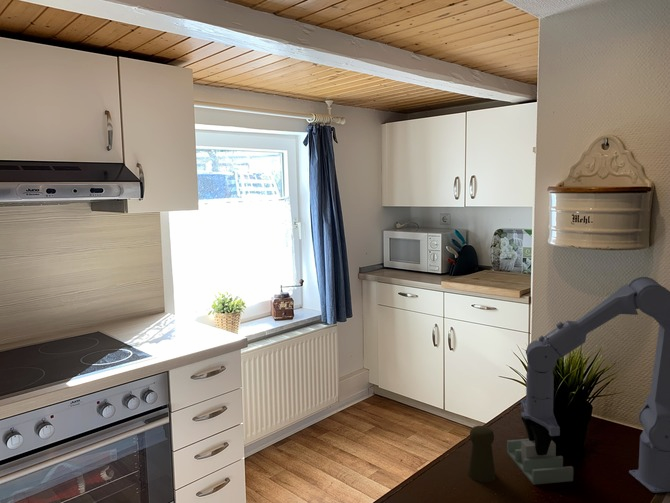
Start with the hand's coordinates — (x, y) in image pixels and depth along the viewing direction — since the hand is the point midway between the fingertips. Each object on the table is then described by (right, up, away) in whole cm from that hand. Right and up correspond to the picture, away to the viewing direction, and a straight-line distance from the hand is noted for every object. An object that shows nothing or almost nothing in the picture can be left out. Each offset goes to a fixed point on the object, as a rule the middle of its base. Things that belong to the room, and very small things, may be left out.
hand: (538, 450), depth 119 cm
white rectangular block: (0, -3, 0) cm, 3 cm away
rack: (0, -4, 0) cm, 4 cm away
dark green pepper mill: (-14, -5, -2) cm, 15 cm away
